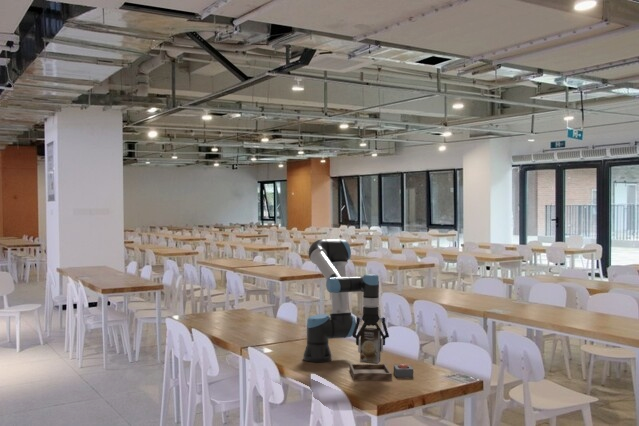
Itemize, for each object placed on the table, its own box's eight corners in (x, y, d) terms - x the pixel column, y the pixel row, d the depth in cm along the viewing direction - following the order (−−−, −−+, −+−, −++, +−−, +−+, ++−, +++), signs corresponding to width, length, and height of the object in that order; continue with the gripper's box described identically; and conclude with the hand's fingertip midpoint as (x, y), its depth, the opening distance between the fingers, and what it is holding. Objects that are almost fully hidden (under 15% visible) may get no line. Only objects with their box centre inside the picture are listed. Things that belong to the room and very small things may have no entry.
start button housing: (396, 377, 281) (396, 369, 281) (393, 373, 289) (393, 365, 289) (413, 377, 282) (413, 369, 282) (409, 373, 290) (409, 364, 290)
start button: (400, 372, 283) (400, 366, 283) (398, 370, 287) (398, 363, 287) (408, 372, 284) (408, 365, 284) (406, 370, 288) (406, 363, 288)
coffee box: (359, 362, 284) (359, 329, 284) (362, 359, 290) (363, 327, 290) (378, 364, 281) (378, 330, 281) (381, 361, 287) (381, 328, 287)
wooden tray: (353, 380, 276) (353, 373, 276) (349, 370, 294) (349, 364, 294) (391, 379, 277) (391, 373, 277) (385, 370, 295) (385, 364, 295)
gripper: (348, 307, 281) (347, 353, 281) (395, 307, 283) (395, 353, 282) (346, 305, 289) (346, 350, 289) (392, 305, 290) (392, 350, 290)
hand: (370, 352), depth 286 cm, fingers closed on coffee box, 10 cm apart
